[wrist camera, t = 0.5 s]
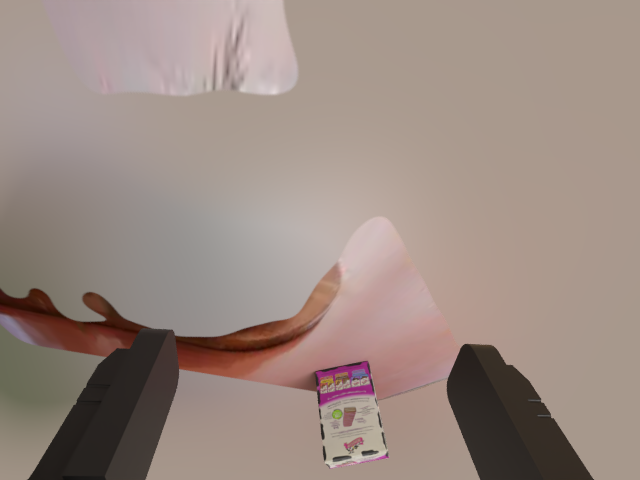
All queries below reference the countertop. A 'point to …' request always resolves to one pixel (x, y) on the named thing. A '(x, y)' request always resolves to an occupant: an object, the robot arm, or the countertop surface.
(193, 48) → the countertop surface
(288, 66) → the countertop surface
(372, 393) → the candy bar box
